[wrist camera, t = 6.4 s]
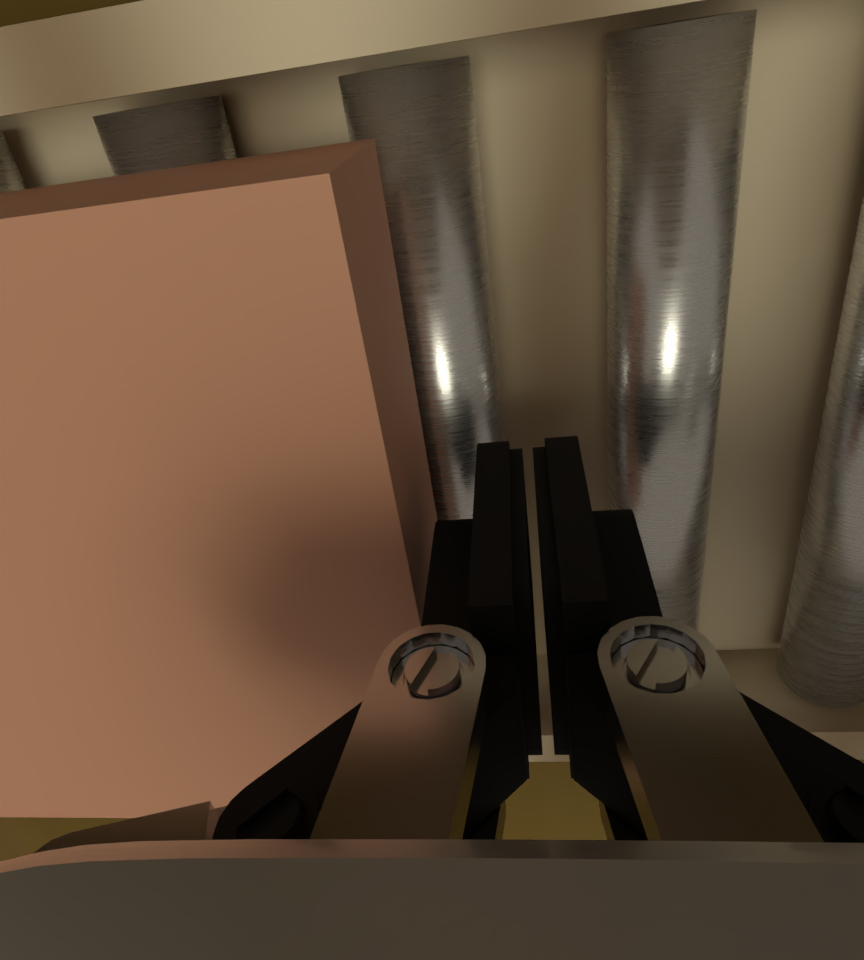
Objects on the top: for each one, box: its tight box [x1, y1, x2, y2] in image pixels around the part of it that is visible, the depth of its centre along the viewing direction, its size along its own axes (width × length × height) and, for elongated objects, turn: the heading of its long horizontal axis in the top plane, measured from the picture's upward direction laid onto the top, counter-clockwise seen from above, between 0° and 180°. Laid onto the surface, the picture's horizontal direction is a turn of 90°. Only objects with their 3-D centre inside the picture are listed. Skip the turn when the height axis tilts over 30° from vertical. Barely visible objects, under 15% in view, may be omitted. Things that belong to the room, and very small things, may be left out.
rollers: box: [0, 9, 864, 707], centre depth 14 cm, size 26×14×2 cm, turn 98°
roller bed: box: [0, 0, 864, 762], centre depth 15 cm, size 32×16×4 cm, turn 98°
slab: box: [0, 138, 437, 818], centre depth 13 cm, size 14×12×3 cm
